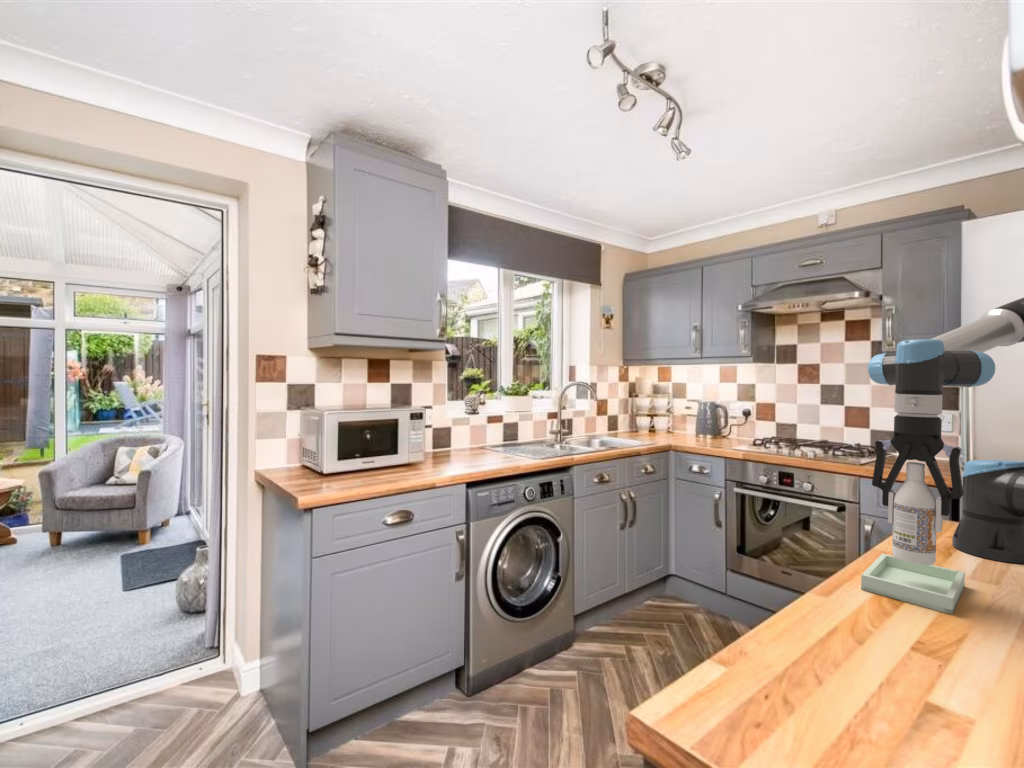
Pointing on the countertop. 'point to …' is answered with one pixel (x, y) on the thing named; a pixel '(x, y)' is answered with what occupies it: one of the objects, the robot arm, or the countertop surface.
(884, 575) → the tray
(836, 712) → the countertop surface
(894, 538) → the bath foam
